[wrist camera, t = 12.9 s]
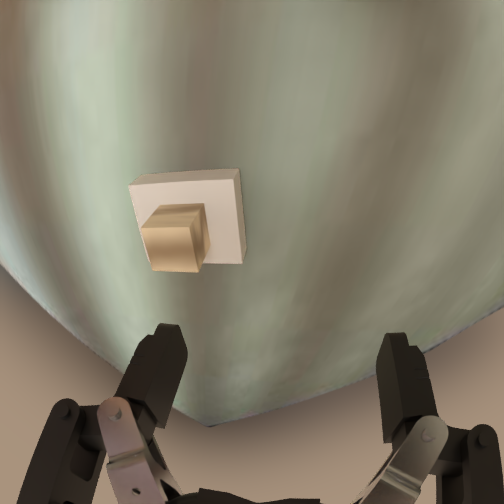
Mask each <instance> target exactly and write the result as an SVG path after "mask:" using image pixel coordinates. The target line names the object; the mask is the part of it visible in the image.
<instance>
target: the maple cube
mask: <svg viewBox="0 0 504 504" xmlns="http://www.w3.org/2000/svg"><path fill="white" fill-rule="evenodd" d="M141 232H142V236H143V239H144V243H145V246H146V250H147V253H148V257H149V260H150V263H151V267H152V270H153V271H175V272H199V270H200V268H201V265H202V263H203V261H204V259H205V256H206V254H207V252H208V250H209V247H210V245H211V244H210V238H209V231H208V225H207V219H206V213H205V207H204V203H194V204H168V205H159V206H158V208H157V209H156V210H155V211H154V212H153V214H152V215H151V216H150V217H149V218H148V219H147V221H146V222H145V223H144V224H143V225H142V227H141Z"/></svg>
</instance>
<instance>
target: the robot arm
mask: <svg viewBox="0 0 504 504" xmlns="http://www.w3.org/2000/svg"><path fill="white" fill-rule="evenodd" d="M187 356H188V352H187V347H186V344H185V341H184V338H183V335H182V332H181V329H180V327H179V325H174V324H164V323H160V324H159V325H158V326H157V328H156V331H155V333H154V335H147V336H146V337H145V338H144V339H143V340H142V341H141V342H140V343H139V344H138V346H137V348H136V350H135V352H134V356H133V357H132V359H131V361H130V364H129V365H128V367H127V369H126V372H125V374H124V376H123V378H122V380H121V383H120V385H119V387H118V389H117V391H116V394H115V395H114V396H113V397H111V398H108V399H106V400H104V401H103V402H102V403H101V404H100V405H94V406H93V405H92V406H79V405H78V404H77V403H76V402H75V401H74V400H72V399H69V398H66V399H62V400H60V401H58V402H57V403H56V404H55V405H54V406H53V408H52V410H51V413H50V415H49V417H48V419H47V422H46V424H45V426H44V429H43V431H42V434H41V436H40V439H39V441H38V444H37V446H36V449H35V451H34V454H33V457H32V459H31V462H30V465H29V467H28V470H27V473H26V476H25V479H24V482H23V485H22V488H21V491H20V494H19V497H18V500H17V504H92V500H93V496H94V493H95V489H96V486H97V482H98V478H99V475H100V472H101V469H102V465H103V462H104V458H105V456H106V452H107V453H108V457H109V463H107V466H106V468H107V473H108V476H109V479H110V482H111V484H112V487H113V490H114V493H115V495H116V498H117V501H118V504H321V503H320V499H292V498H289V499H283V500H278V501H271V502H264V503H255V502H252V501H249V500H247V499H244V498H241V497H238V496H236V495H233V494H230V493H227V492H220V491H214V490H209V489H203V488H199V492H198V493H197V492H196V493H189V494H185V495H183V493H182V491H181V489H180V487H179V485H178V484H177V482H176V480H175V479H174V477H173V476H172V474H171V473H170V471H169V469H168V467H167V465H166V462H165V460H164V458H163V456H162V454H161V451H160V449H159V447H158V444H157V442H156V440H155V437H154V435H153V433H154V430H155V427H159V428H165V426H166V423H167V419H168V416H169V413H170V410H171V407H172V404H173V401H174V398H175V395H176V392H177V389H178V386H179V383H180V380H181V377H182V374H183V371H184V368H185V365H186V362H187ZM376 373H377V381H378V389H379V398H380V406H381V417H382V429H383V441H384V443H392V449H393V451H392V452H391V453H390V455H389V456H388V457H387V459H386V460H385V462H384V463H383V465H382V466H381V467H380V469H379V470H378V471H377V473H376V474H375V475H374V477H373V478H372V479H371V480H370V482H369V483H368V484H367V486H366V487H365V488H364V489H363V490H362V491H361V492H360V493H359V495H358V496H357V497H356V498H355V499H354V500H353V501H352V502H351V503H350V504H414V503H415V501H416V500H417V498H418V496H419V495H420V492H421V489H420V488H421V485H422V483H423V482H424V480H425V479H426V477H427V475H428V474H432V475H436V499H437V500H436V501H437V502H436V504H504V485H503V474H502V465H501V457H500V450H499V443H498V437H497V434H496V432H495V430H494V429H493V428H492V427H491V426H489V425H486V424H480V425H477V426H475V427H474V428H473V429H472V430H466V429H459V428H453V427H450V426H448V425H446V424H445V422H444V421H443V420H442V419H441V418H439V416H438V413H437V409H436V404H435V399H434V395H433V390H432V386H431V381H430V379H429V373H428V370H427V365H426V361H425V357H424V355H423V354H422V352H421V351H420V349H419V348H418V347H417V345H416V346H409V344H408V340H407V336H406V334H405V333H404V332H402V333H386V334H385V336H384V339H383V342H382V345H381V348H380V351H379V353H378V356H377V361H376Z"/></svg>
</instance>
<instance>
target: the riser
mask: <svg viewBox="0 0 504 504" xmlns="http://www.w3.org/2000/svg"><path fill="white" fill-rule="evenodd" d="M129 191H130V195H131V199H132V203H133V207H134V211H135V215H136V218H137V222H138V226H139V230H140V233H141V237H142V240H143V244H144V247H145V251H146V254H147V258H148V261H149V262H150V260H149V257H148V253H147V250H146V246H145V243H144V239H143V236H142V232H141V227H142V225H143V224H144V223H145V222H146V221H147V219H148V218H149V217H150V216H151V215H152V214H153V212H154V211H155V210H156V209H157V208H158V206H159V205H168V204H194V203H204V207H205V213H206V219H207V225H208V231H209V238H210V244H211V245H210V247H209V250H208V252H207V254H206V256H205V259H204V261H203V263H223V264H242V263H243V260H244V256H245V252H246V249H247V245H246V235H245V225H244V214H243V204H242V193H241V183H240V172H239V168H234V169H211V170H194V171H179V172H166V173H155V174H144V175H140V176H139V177H138V178H137V179H136V180H134V181H133V182H132V183H131V184H130V185H129Z"/></svg>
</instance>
